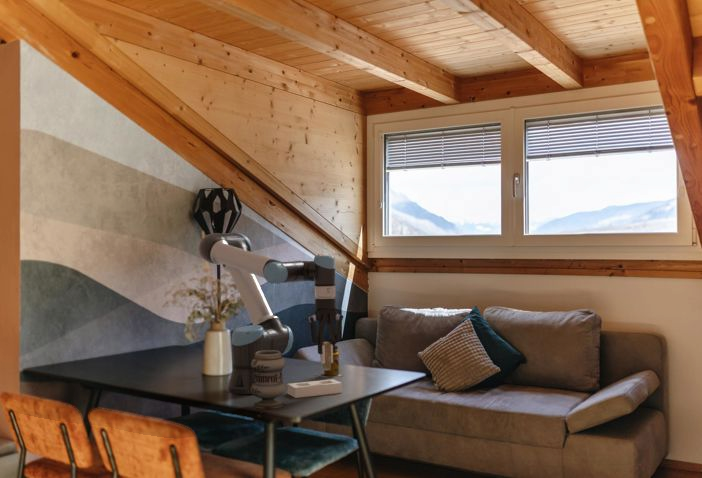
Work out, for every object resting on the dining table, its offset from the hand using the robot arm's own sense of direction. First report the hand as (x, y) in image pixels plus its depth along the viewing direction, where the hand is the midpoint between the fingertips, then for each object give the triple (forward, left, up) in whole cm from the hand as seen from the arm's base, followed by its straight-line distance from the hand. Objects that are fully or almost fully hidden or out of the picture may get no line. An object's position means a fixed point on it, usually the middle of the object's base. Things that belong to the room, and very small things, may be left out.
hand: (326, 362), depth 260 cm
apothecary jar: (-26, -11, -11) cm, 30 cm away
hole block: (-5, 0, -11) cm, 12 cm away
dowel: (0, 0, -3) cm, 3 cm away
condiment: (+13, +29, -11) cm, 34 cm away
